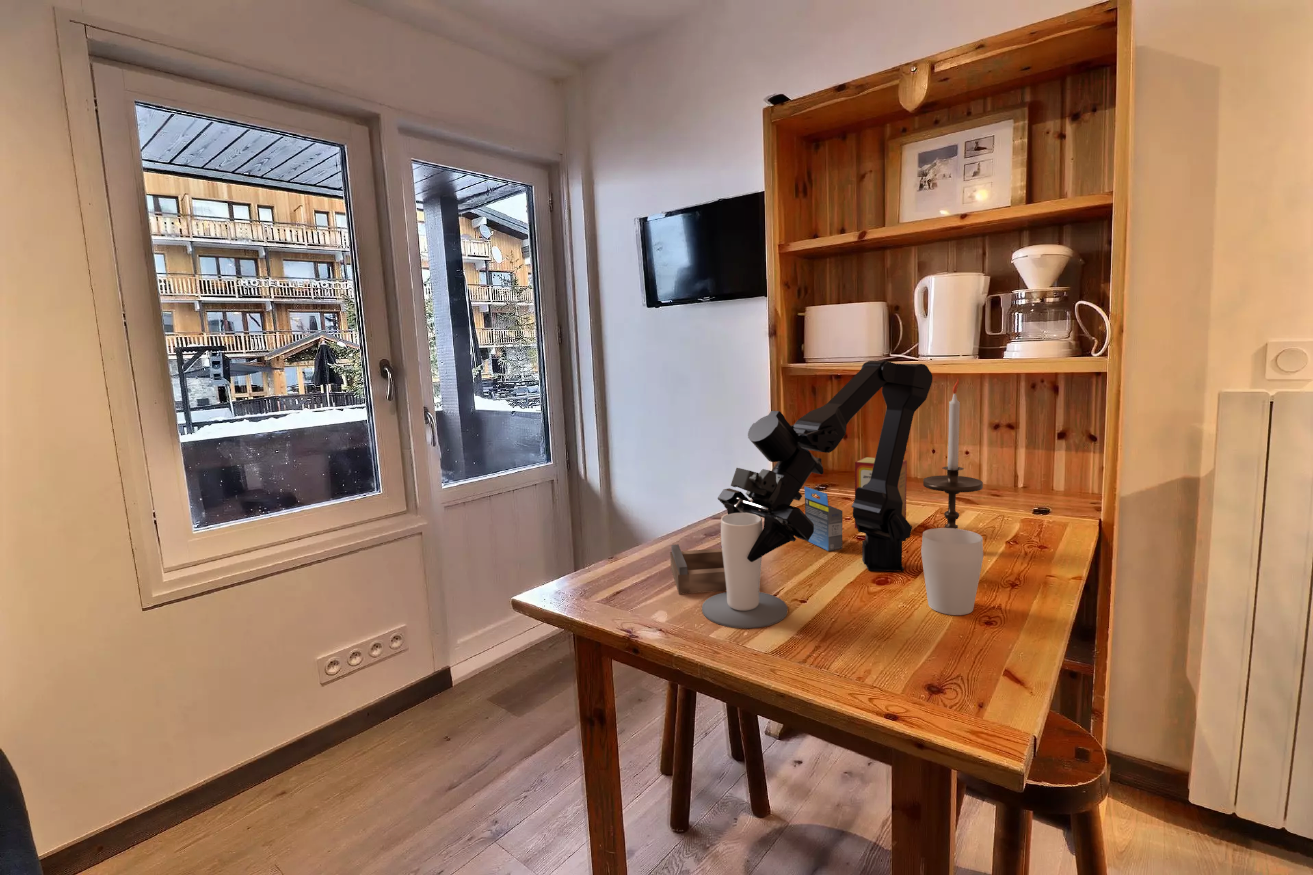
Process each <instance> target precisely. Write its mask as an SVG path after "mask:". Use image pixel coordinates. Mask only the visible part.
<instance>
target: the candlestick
mask: <svg viewBox="0 0 1313 875" xmlns="http://www.w3.org/2000/svg"><path fill="white" fill-rule="evenodd" d="M959 384H960V380H959V378H957V380H956V382H955V384H954V385H953V387H952V398H951V400H949V403H948V404H949V406H948V407H949V408H948V443H947V444H948V445H947V446H948V448H947V466H943V467H941V468H942V469H943V470H946V475H944V474H943V475H933V476H932V475H931V476H927V477H924V478H923V480H922V481H923V484H922V485H923V487H924V488H926V489H929V490H933V491H937V492H944V493H945V494H948V502H947V503H948V507H947V510H945V511H944V513H943V516H944V518H945V519H947V521H946V523H945V524H944V528H955V529H959V525H957V524H956V523H957V520H958V519H959V517H960V513H959V512H958V511H956V507H957V506H956V505H957V504H956V503H957V502H956V500H957V495H958V494H959V495H960V493H974V492H977V491H978V492H979V491H982V490H983V488H984V487H983V486H984V482H983V481H982V480H980V479H978V478H976V477H975V478H974V477H970V476H965V475H964V476H963V475H959V471H963V470H965V468H964V467H961V466H959V448H960V447H959V444H960V442H959V441H960V440H959V438H960V437H959V436H960V408H961V405H960V404H961V402H960V401H959V400H958V397H957V392H958V386H959Z"/></svg>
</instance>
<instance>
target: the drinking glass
mask: <svg viewBox="0 0 1313 875" xmlns="http://www.w3.org/2000/svg"><path fill="white" fill-rule="evenodd" d="M763 528H764V526H763V517H760V516H758V515H755V514H751V513H732V514H728V513H727V514H725V515H723V516H722V517H721V518H720V544H721V546H720V547H722V556H723V564H724V572H725V581H726V590H725V591H726V592H727V603H728V605H729V606H730V607H731V608H733V609H735V610H739V611H748V610H752V609H755V608H756V607H757V606H758V605H759V592H760V587H761V574H762V560H763V558H762V557H763V556H762V557H760V558H759V559H757V560H755V561H753V562H750V561H749V560H748V559H747V557H748V555H749V553H750V551H751V549H752V547H753V546H754V544H755V542H756V540H757V539H758V537H759V535H760V534H761V532H762V530H763Z"/></svg>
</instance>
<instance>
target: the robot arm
mask: <svg viewBox="0 0 1313 875" xmlns="http://www.w3.org/2000/svg"><path fill="white" fill-rule="evenodd" d="M933 377H934V376H933V374H932V372H931V370H930V369H929V367H928V366H927V365H926V364H924V363H895V362H892V361H889V360H868V361H866V362H864V363H862V366H861V368H860V370H858V372H857V373H856V374H855V375H854V376H853V377H852V378H851V379H850V380H849V381H848V382H847V383H846V384H845V385H844V386H842V387H841V389H840V390H839V391H838V392H837V393H836V394H835V395H834V396H833V397H831V399H830V400H829V401H828V402H827V403H826V404H824V405H823V406H820V407H818V408H815V409H813V410H811V411H809V412H807V413H806V414H804V415H803V416H801V417H800V418H798V419H797V420H796V422H794V424H792V425H791V424H790V423H789V422H788V421H787V419H786V417H785V416H784V414H783V413H782V411H780V410H771V411H770V412H768V414H767V415H764V416H763V417H761V418H759V419H758V420H757V421H755V422H753V423H752V424H751V425H750V427H749V429H748V432H747V439H749V441H750V442H751V443H752V444H753V445H754V446H755V448H756V449H757V450H758V451H759V452H760V453H761V454H762V455H763V457H764V458H766V460H767V461H768V462H771V463H775V464H774V466H773V467H772V469H771V470H769V469H766V468H765V469H764V468H763V469H761V471H760V472H756V471H752V470H749V469H745V468H740V467H736V469H735V472H734V474H733V476H732V480H731V483H730V487H732V488H724V489H722V491H721V492H720V493H719V495H718V497H717V500H718V501H719V502H720V503H721V504H722V505H723V507H724V508H725V509H726V511H727V515H728V514H732V513H751V514H755V515H758V516H760V517H761V518H762V519H763V530H762V532H761V534H760V535H759V537H758V539H757V540H756V542H755V544H754V546H753V547H752V549H751V551H750V553H749V555H748V557H747V559H748V560H749V561H750V562H753V561H755V560H757V559H759V558H760V557H764V556H766V555H767V554H769V553H770V552H772V551H774V550H776V549H778V548H780V547H782V546H784V545H785V544H788V543H791V542H794V543H795V542H796V540H797V539H799V540H802V541H805V542H808V540H809V539H810V537H811V536H812V534H813V533H814V524H813V523H812V521H811V520H810V519H809V518H808V517H807V516H806V515H805V512H803V510H802V509H801V508H800V507H797V506H793V505H791V504H792V503H793V501H794V500H795V501H801V499H802V498H803V494H801V493H800V491H801V489H802V488H803V487H804V486H805V485H804V484H806V481H807V480H808V478H809V477H810V475H811V474H812V473H813V474H818V475H823V474H824V467H823V464H822V460H823V459H822V458H820V457H815V456H814V455H813V454H812V453H811V451H813V452H820V453H826V454H829V453H832V452H833V451H835V450H836V449H837V447H838V446H839V445H840V443H841V441H842V440H843V439H844V437H845V436H846V433H847V425H848V424H849V422H850V421H851V420H852V419H853V418H854V417H855V415H857V414H858V413H859V411H860V410H861V409H862V408H864V406H865V405H866V404H867V403H868V402H869V401H870V400H871V399H872V398H873V397H874V396H875V395H876V394H877V393H878V392H879V391H880V390H881V394H882V397H883V400H884V403H885V406H886V410H885V414H884V418H883V423H882V427H881V432H880V436H879V440H878V446H877V448H876V449H877V450H876V454H875V457H874V458H875V462H874V466H873V470H872V475H871V479H870V481H869V482H868V483H867V484H866V485H865V487H864V488H862V487H858V488H857V490H856V493H855V492H854V500H853V502H852V504H851V508H853V509H852V517H853V519H854V523H855V522H856V525H857V528H856V529H857V532H858V533H862V534H865V535H864V537H865V539H863V540H862V542H861V543H862V544H861V545H862V546H861V547H862V550H861V553H862V554H861V560H862V562H863V564H864V565H865V566H866V568H867V571H871V572H874V571H875V572H904V571H905V567H904V566H903V542H906V541H907V539H910V538H911V534H912V530H913V526H912V524H910V522H909V521H908V520H907V518H906V519H905V518H904V516H903V515H902V505H903V502H902V499H901V496H900V493H899V490H898V482H899V477H900V473H901V469H902V464H903V460H904V459H905V454H906V451H907V446H908V442H909V437H910V433H911V429H912V423H913V419H914V416H915V412H916V411H917V410H918V409H919V408H920V407H921V406H922V405H923V403H924V402H926V400H927V398H928V395H929V392H930V389H931V386H932V384H933ZM733 488H739V489H742V490H744V491H746V492H745V494H744V493H743V491H740V490H736V489H733ZM750 499H751V500H750ZM720 547H721V546H720ZM721 548H722V547H721Z"/></svg>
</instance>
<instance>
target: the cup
mask: <svg viewBox="0 0 1313 875" xmlns="http://www.w3.org/2000/svg"><path fill="white" fill-rule="evenodd" d="M983 542H984V541H983V536H982V535H981V534H979V533H978V532H974V531H972V530H968V529H962V528H961V529H960V528H956V529H955V528H946V527H936V528H935V527H934V528H929V529H926V530H924V531H923V532H922V541H921V547H920V548H921V550H920V552H921V553H920V556H921V560H922V567H923V568H922V569H923V576H924V583H925V589H926V597H927V605H928V606H929V607H930V608H931V609H932V610H933V611H936V612H937V613H941V614H943V615H950V616H965V615H968V614H971V613H972V612H973V611H974V608H975V602H976V598H977V597H976V596H977V592H978V586H979V581H980V576H981V571H982V566H983V562H984V548H983V546H984V545H983V544H984V543H983Z"/></svg>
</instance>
